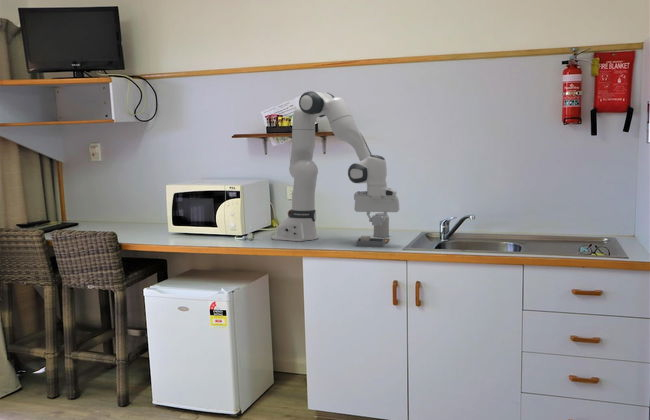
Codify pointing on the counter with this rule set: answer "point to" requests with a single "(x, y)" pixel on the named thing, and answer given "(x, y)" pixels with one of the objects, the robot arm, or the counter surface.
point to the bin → (371, 243)
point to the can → (382, 227)
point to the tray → (386, 240)
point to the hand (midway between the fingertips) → (376, 221)
